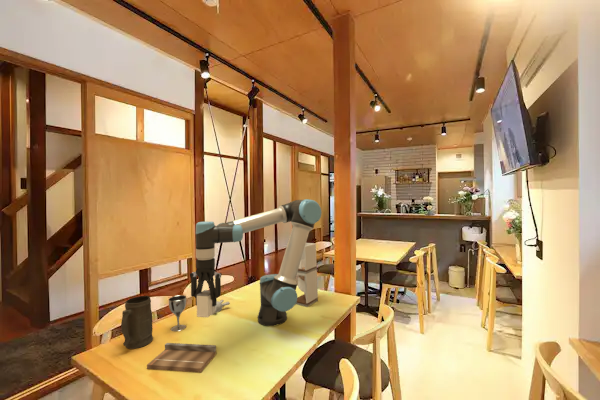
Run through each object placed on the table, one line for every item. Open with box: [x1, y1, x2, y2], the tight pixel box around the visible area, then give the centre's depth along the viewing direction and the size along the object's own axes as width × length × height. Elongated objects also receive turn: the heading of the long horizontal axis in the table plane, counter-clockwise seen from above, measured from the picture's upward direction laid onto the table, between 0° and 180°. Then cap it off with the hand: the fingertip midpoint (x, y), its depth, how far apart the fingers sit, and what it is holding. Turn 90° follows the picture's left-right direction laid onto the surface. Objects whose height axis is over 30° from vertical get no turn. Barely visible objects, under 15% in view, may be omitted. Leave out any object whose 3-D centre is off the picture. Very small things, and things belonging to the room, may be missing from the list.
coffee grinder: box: [295, 242, 319, 308], centre depth 163 cm, size 11×11×35 cm
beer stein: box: [120, 295, 154, 350], centre depth 119 cm, size 15×11×20 cm
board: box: [146, 342, 217, 374], centre depth 106 cm, size 22×12×4 cm, turn 81°
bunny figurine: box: [214, 299, 231, 314], centre depth 154 cm, size 10×5×15 cm
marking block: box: [196, 289, 211, 318], centre depth 114 cm, size 5×6×9 cm
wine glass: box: [168, 294, 187, 333], centre depth 134 cm, size 8×8×15 cm
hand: (206, 313), depth 113 cm, fingers closed on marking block, 5 cm apart
